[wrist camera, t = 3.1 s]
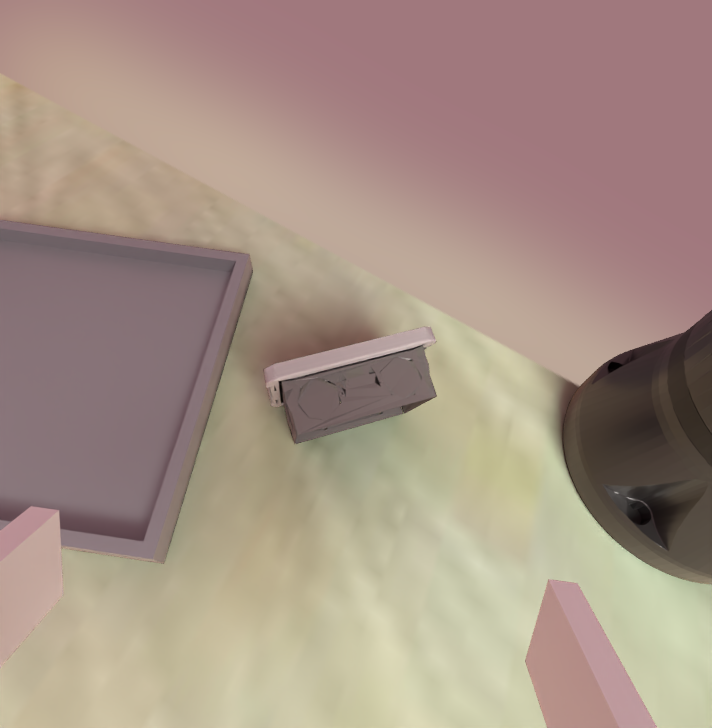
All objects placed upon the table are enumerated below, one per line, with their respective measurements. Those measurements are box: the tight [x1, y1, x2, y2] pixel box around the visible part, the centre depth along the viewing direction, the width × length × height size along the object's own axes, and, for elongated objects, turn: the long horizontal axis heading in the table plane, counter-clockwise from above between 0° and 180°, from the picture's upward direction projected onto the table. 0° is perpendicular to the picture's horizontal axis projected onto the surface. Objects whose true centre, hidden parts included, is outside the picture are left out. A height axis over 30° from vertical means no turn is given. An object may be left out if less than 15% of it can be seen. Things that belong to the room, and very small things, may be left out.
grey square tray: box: [0, 220, 253, 564], centre depth 32 cm, size 22×22×2 cm
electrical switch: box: [263, 327, 437, 444], centre depth 29 cm, size 9×5×9 cm, turn 108°
